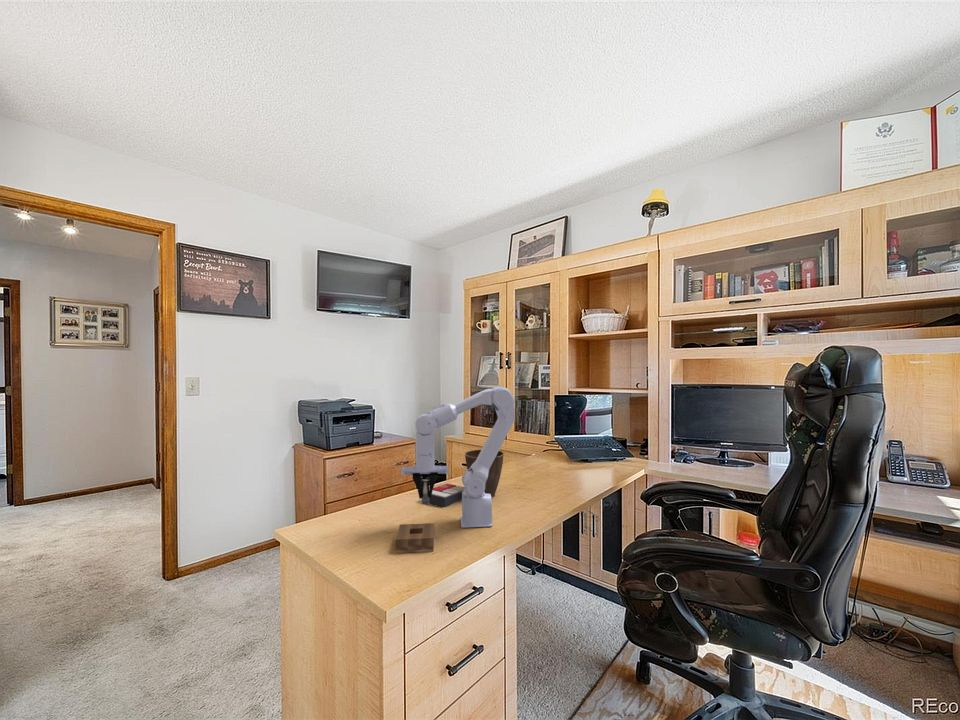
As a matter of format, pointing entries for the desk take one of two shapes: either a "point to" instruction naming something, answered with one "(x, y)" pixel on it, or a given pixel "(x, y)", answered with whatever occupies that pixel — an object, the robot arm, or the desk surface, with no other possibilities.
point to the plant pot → (493, 471)
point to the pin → (425, 492)
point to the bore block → (415, 538)
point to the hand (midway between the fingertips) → (425, 497)
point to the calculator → (446, 495)
